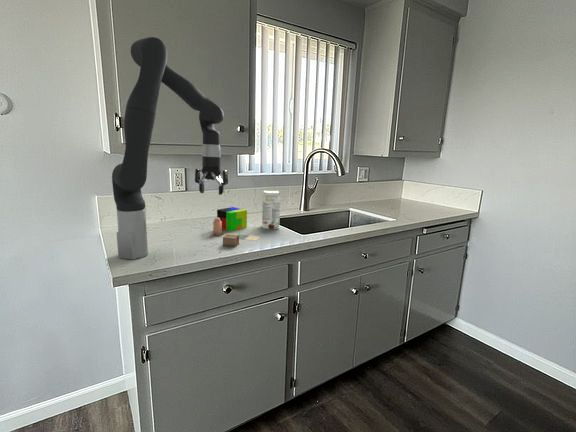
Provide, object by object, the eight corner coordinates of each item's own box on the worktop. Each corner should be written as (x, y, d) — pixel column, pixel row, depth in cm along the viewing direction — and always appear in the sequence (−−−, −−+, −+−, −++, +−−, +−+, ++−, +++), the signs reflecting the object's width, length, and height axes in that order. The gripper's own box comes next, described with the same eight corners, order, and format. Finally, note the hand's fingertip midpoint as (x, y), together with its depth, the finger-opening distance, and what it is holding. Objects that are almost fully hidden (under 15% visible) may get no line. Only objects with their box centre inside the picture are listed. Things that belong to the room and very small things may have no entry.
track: (256, 243, 138) (256, 240, 138) (208, 238, 143) (208, 235, 142) (261, 239, 145) (261, 236, 145) (215, 234, 149) (215, 231, 149)
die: (234, 250, 129) (234, 238, 128) (222, 249, 130) (222, 237, 129) (239, 246, 134) (239, 235, 133) (227, 245, 135) (227, 233, 134)
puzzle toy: (233, 226, 166) (233, 207, 163) (246, 230, 159) (246, 210, 157) (217, 229, 158) (217, 209, 156) (231, 234, 152) (231, 213, 150)
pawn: (218, 236, 143) (218, 218, 141) (211, 234, 144) (211, 217, 143) (223, 234, 146) (223, 217, 145) (216, 232, 148) (216, 216, 146)
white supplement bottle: (279, 231, 159) (280, 192, 155) (261, 231, 158) (262, 192, 154) (278, 227, 166) (279, 190, 162) (261, 227, 166) (262, 190, 161)
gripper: (191, 154, 136) (191, 193, 139) (223, 156, 133) (223, 196, 136) (200, 154, 143) (200, 191, 146) (230, 156, 140) (230, 193, 143)
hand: (211, 193), depth 141 cm, fingers open, 8 cm apart
